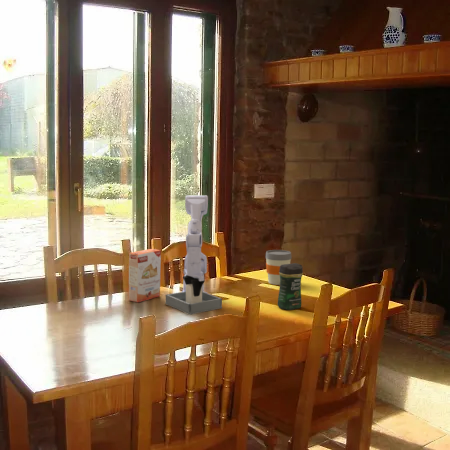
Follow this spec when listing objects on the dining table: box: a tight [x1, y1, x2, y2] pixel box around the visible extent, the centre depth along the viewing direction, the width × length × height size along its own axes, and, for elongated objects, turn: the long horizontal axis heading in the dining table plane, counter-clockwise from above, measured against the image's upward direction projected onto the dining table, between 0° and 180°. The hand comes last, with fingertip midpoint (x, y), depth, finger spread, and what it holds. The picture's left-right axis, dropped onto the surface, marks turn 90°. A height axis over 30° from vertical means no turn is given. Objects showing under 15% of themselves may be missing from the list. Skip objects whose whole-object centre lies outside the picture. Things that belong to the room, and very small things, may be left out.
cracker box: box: [128, 248, 162, 304], centre depth 258 cm, size 14×6×21 cm, turn 143°
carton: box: [186, 284, 202, 304], centre depth 249 cm, size 5×5×8 cm
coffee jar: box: [277, 263, 304, 311], centre depth 248 cm, size 10×8×19 cm
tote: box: [165, 291, 223, 315], centre depth 249 cm, size 18×16×4 cm
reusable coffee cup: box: [265, 249, 293, 286], centre depth 291 cm, size 12×13×15 cm
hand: (193, 294), depth 249 cm, fingers closed on carton, 5 cm apart
